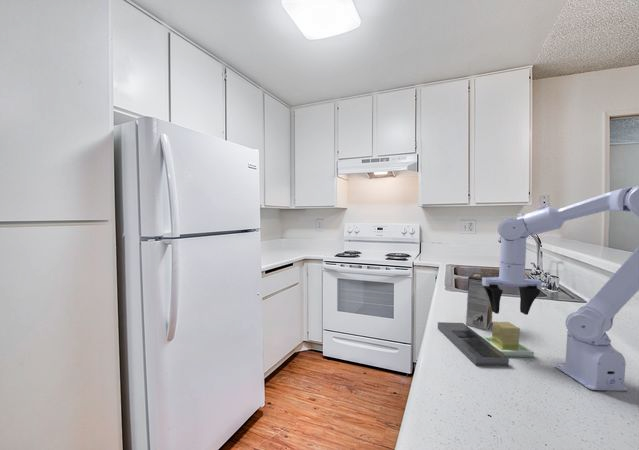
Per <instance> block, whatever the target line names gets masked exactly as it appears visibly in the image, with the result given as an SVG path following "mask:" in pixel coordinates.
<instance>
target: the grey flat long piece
mask: <svg viewBox="0 0 639 450" xmlns="http://www.w3.org/2000/svg"><path fill="white" fill-rule="evenodd" d="M437 330H438V331H439V332H440V333H442V334H443V336H445V337H446V339H448V340H449V341H450V342H451V343H452V344H453V345H454V346H455V347H456V348H457V349H458V350H459V351H460V352H461V353H462V354H463V355H465V357H467V359H469V361H470V362H471V363H472V364H473V365H474V366H491V367H492V366H495V367H497V366H498V367H508V366H509V362H510V357H507V356H506V355H505V354H503V353H502V352H501V351H499V350H498V349H497V348H495V347H494V346H493V345H491V344H490V343H489V342H488V341H486V340H485V339H484V338H482V337H481V336H482V335H480V334H479V333H477V332H476V331H475V330H473V329H472V328H471V327H469V325H466V323H464V322H448V321H447V322H445V321H444V322H440V321H438V322H437Z"/></svg>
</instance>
